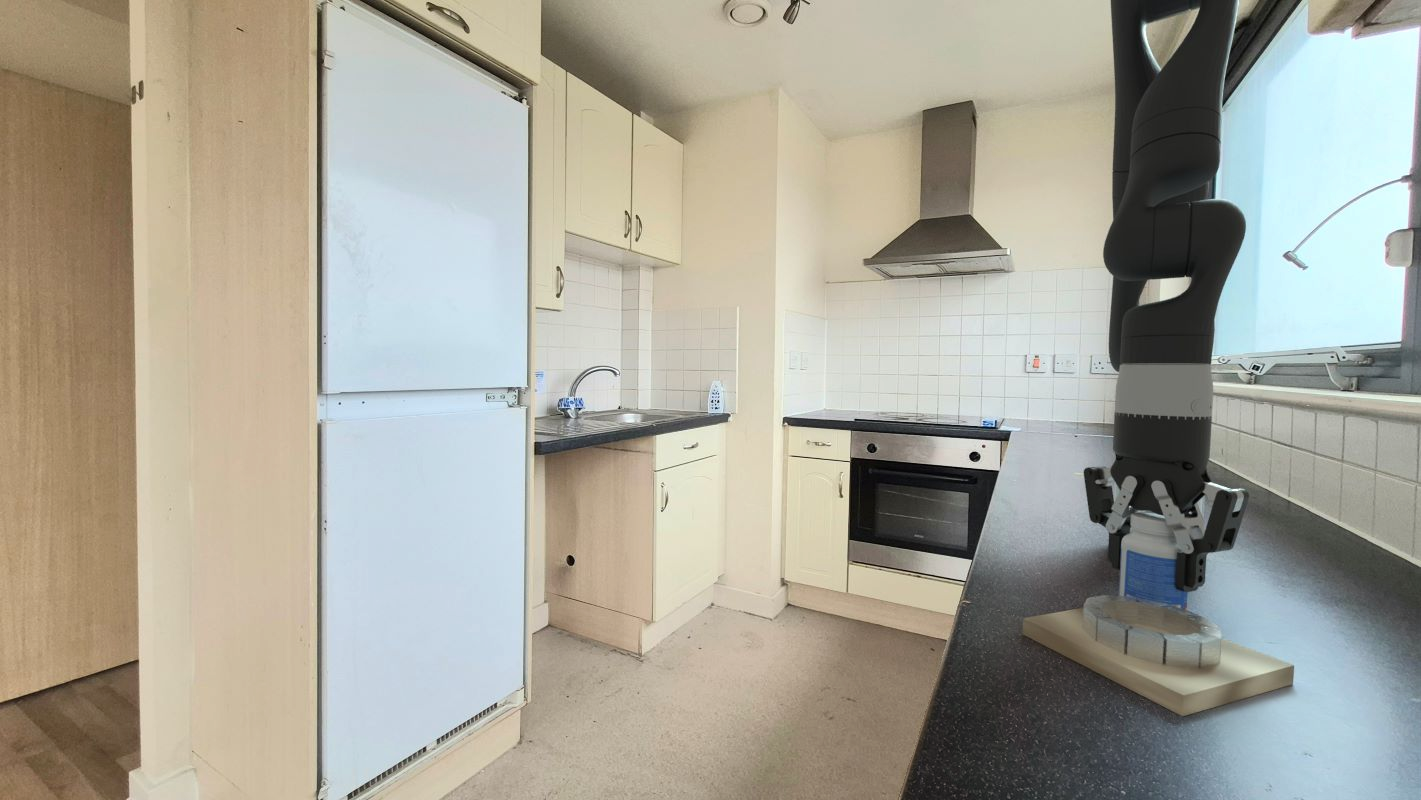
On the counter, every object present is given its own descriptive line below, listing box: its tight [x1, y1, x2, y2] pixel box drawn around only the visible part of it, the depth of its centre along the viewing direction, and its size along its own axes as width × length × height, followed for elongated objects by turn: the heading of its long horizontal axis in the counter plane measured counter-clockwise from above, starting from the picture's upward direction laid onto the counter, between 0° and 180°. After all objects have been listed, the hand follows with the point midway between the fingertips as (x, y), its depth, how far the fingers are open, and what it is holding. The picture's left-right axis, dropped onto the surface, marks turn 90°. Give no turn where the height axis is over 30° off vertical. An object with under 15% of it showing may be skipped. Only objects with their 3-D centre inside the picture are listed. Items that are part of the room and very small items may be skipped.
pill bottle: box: [1118, 512, 1189, 611], centre depth 56 cm, size 6×5×10 cm
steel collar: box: [1082, 594, 1222, 669], centre depth 48 cm, size 9×9×2 cm
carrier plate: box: [1022, 607, 1295, 717], centre depth 48 cm, size 13×13×2 cm
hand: (1152, 578), depth 57 cm, fingers closed on pill bottle, 5 cm apart
